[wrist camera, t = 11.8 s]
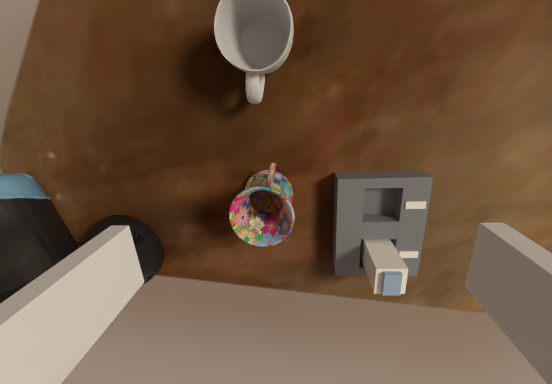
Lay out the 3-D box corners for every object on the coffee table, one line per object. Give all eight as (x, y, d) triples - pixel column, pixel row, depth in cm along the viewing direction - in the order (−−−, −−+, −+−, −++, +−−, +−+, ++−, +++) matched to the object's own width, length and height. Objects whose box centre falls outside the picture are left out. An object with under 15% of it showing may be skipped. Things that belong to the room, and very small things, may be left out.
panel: (332, 262, 51) (335, 276, 47) (334, 172, 44) (338, 179, 41) (408, 262, 49) (417, 277, 45) (421, 169, 43) (434, 177, 39)
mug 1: (235, 4, 37) (213, -25, 28) (298, 10, 37) (297, -18, 27) (231, 99, 42) (211, 101, 32) (287, 105, 41) (284, 109, 32)
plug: (359, 254, 48) (375, 297, 38) (361, 233, 47) (377, 272, 37) (384, 254, 48) (406, 297, 38) (386, 233, 47) (410, 272, 36)
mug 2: (289, 220, 48) (286, 253, 38) (239, 209, 48) (224, 239, 39) (304, 157, 44) (306, 176, 34) (250, 145, 44) (236, 161, 34)
